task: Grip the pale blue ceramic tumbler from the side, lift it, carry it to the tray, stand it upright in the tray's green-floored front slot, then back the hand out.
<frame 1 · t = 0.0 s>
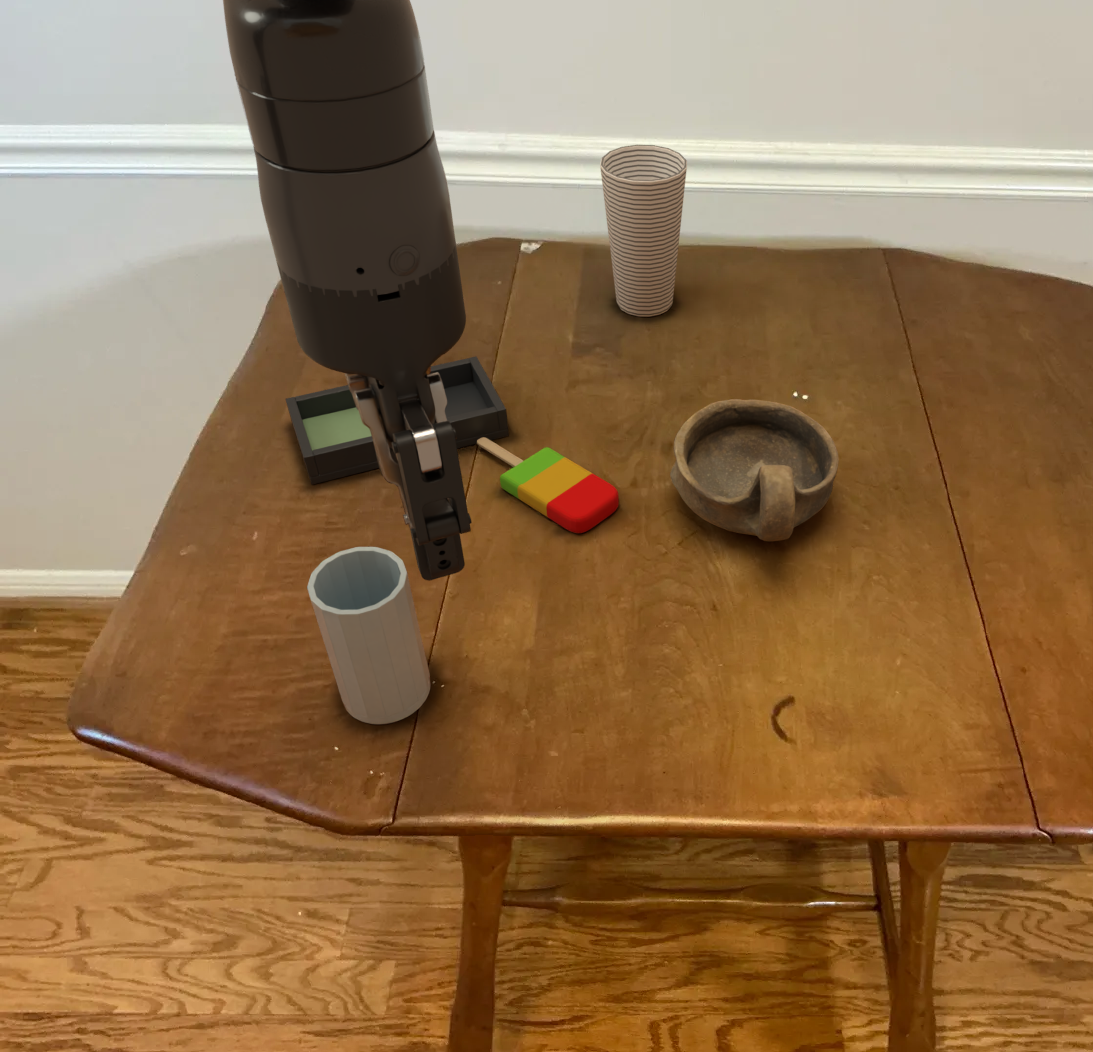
hand: (421, 520, 57), 21 cm above the table, tool pointing down, fingers open, 8 cm apart
tumbler: (386, 690, 75), on the table
bowl: (753, 517, 90), on the table
tray: (400, 430, 97), on the table
popsicle: (539, 485, 92), on the table
cup: (644, 304, 114), on the table
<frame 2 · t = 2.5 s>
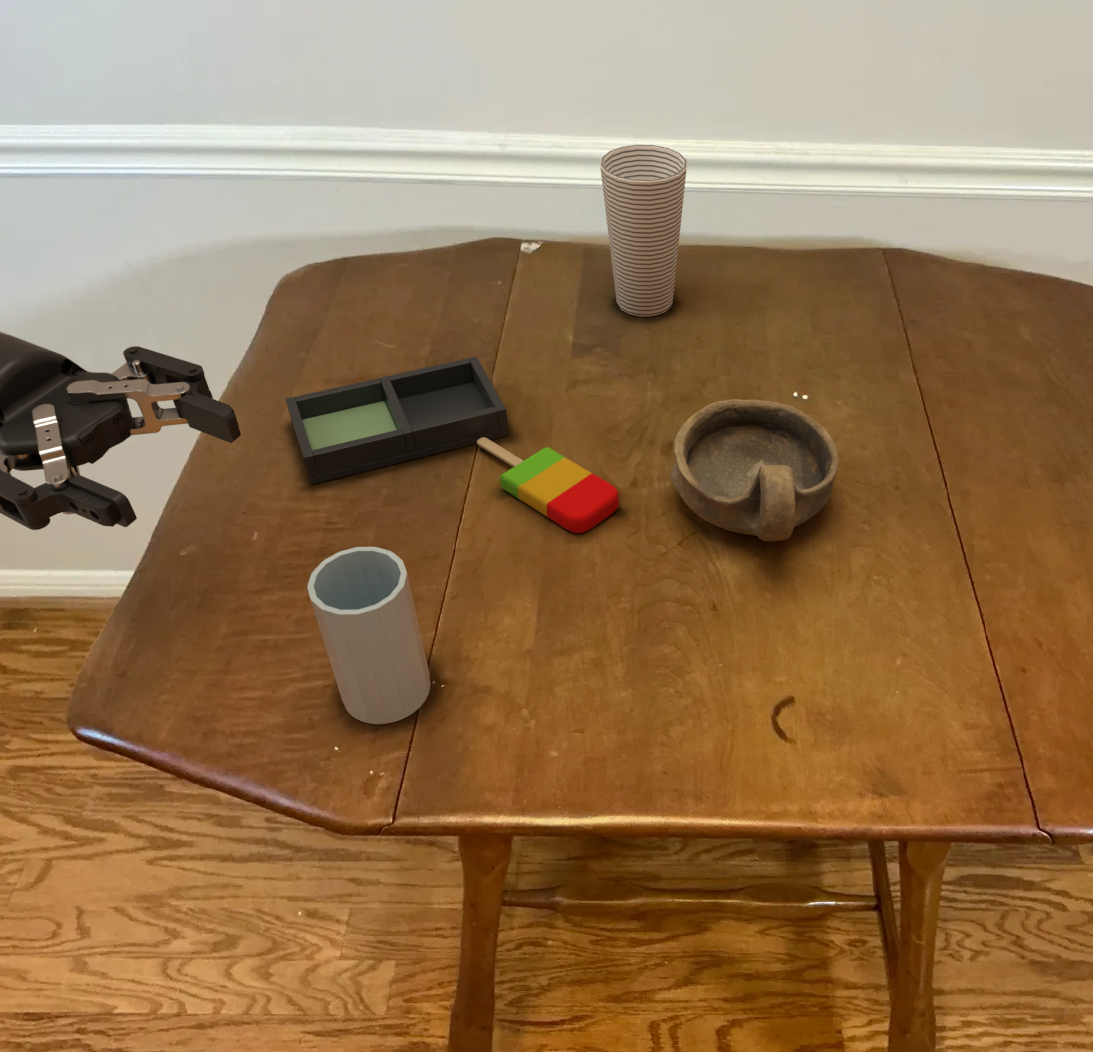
hand: (183, 468, 64), 18 cm above the table, tool horizontal, fingers open, 8 cm apart
nothing on the table moved.
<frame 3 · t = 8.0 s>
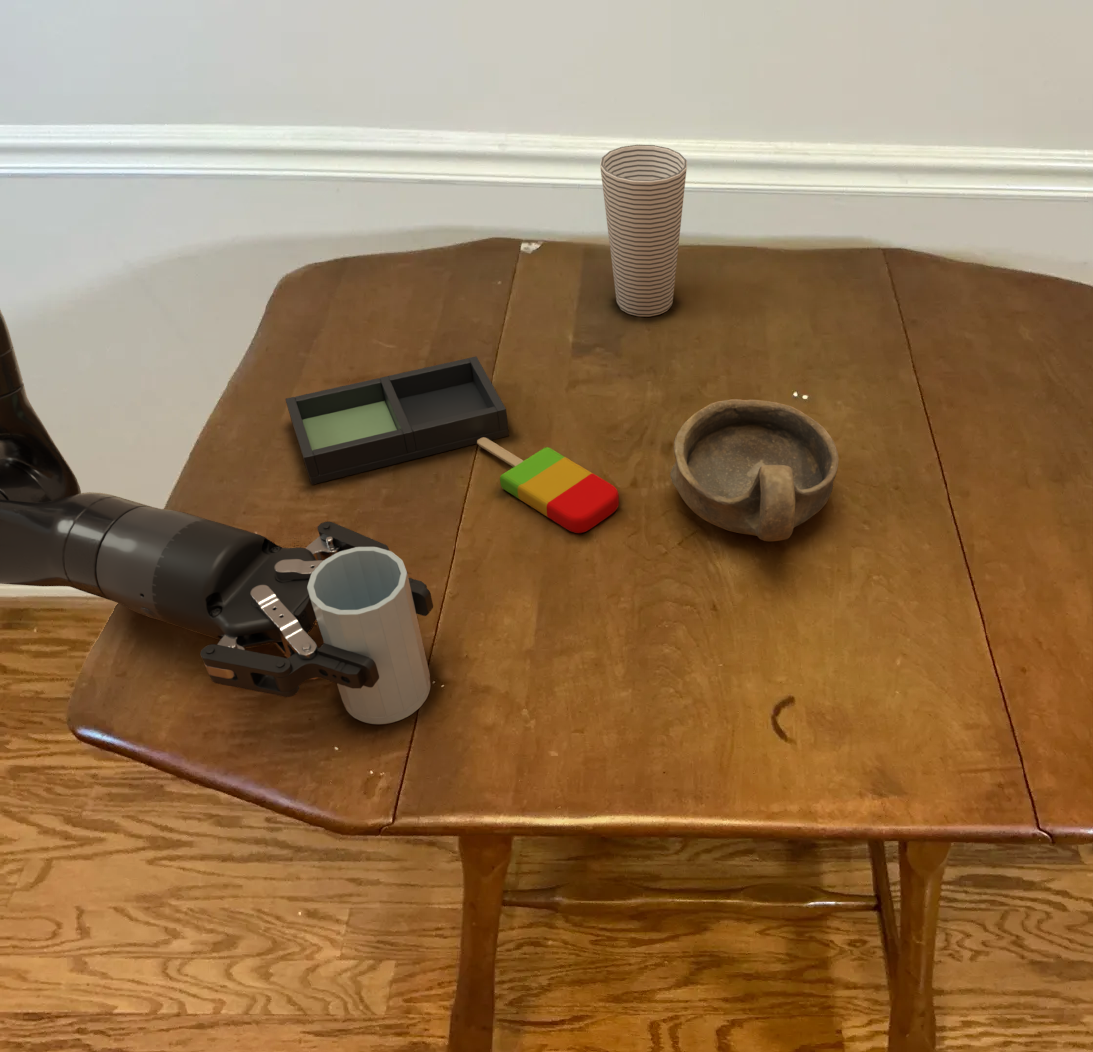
hand: (402, 636, 70), 7 cm above the table, tool horizontal, fingers closed on tumbler, 6 cm apart
tumbler: (387, 690, 75), on the table, touching gripper
everything else where it was.
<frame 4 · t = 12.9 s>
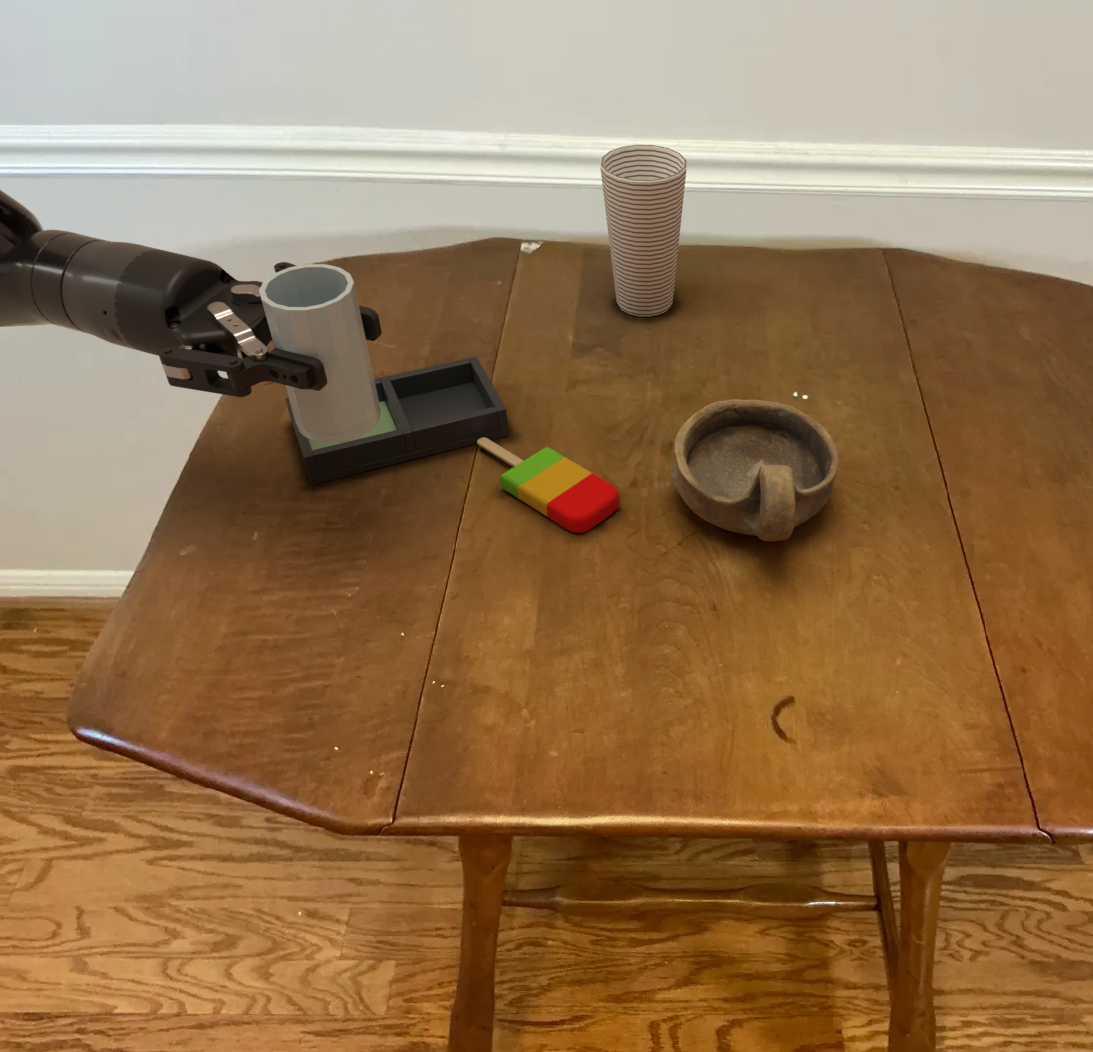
hand: (350, 350, 74), 18 cm above the table, tool horizontal, fingers closed on tumbler, 6 cm apart
tumbler: (338, 418, 79), point 11 cm above the table, touching gripper
everything else where it was.
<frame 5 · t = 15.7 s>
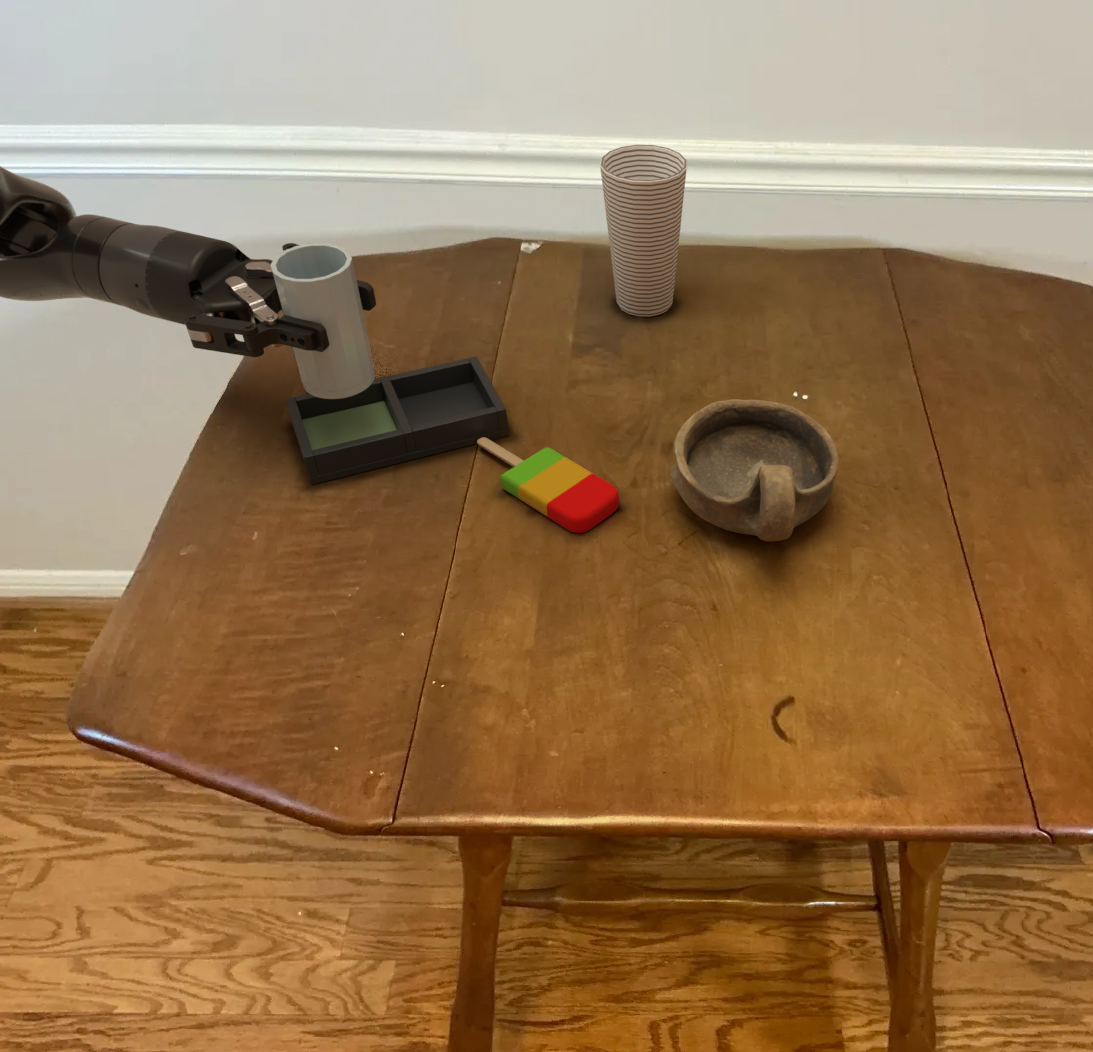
hand: (349, 317, 86), 13 cm above the table, tool horizontal, fingers closed on tumbler, 6 cm apart
tumbler: (339, 378, 91), point 7 cm above the table, touching gripper
everything else where it was.
when the fingers open (8 cm above the table, at t = 17.8 s): tumbler stays where it is, resting on tray.
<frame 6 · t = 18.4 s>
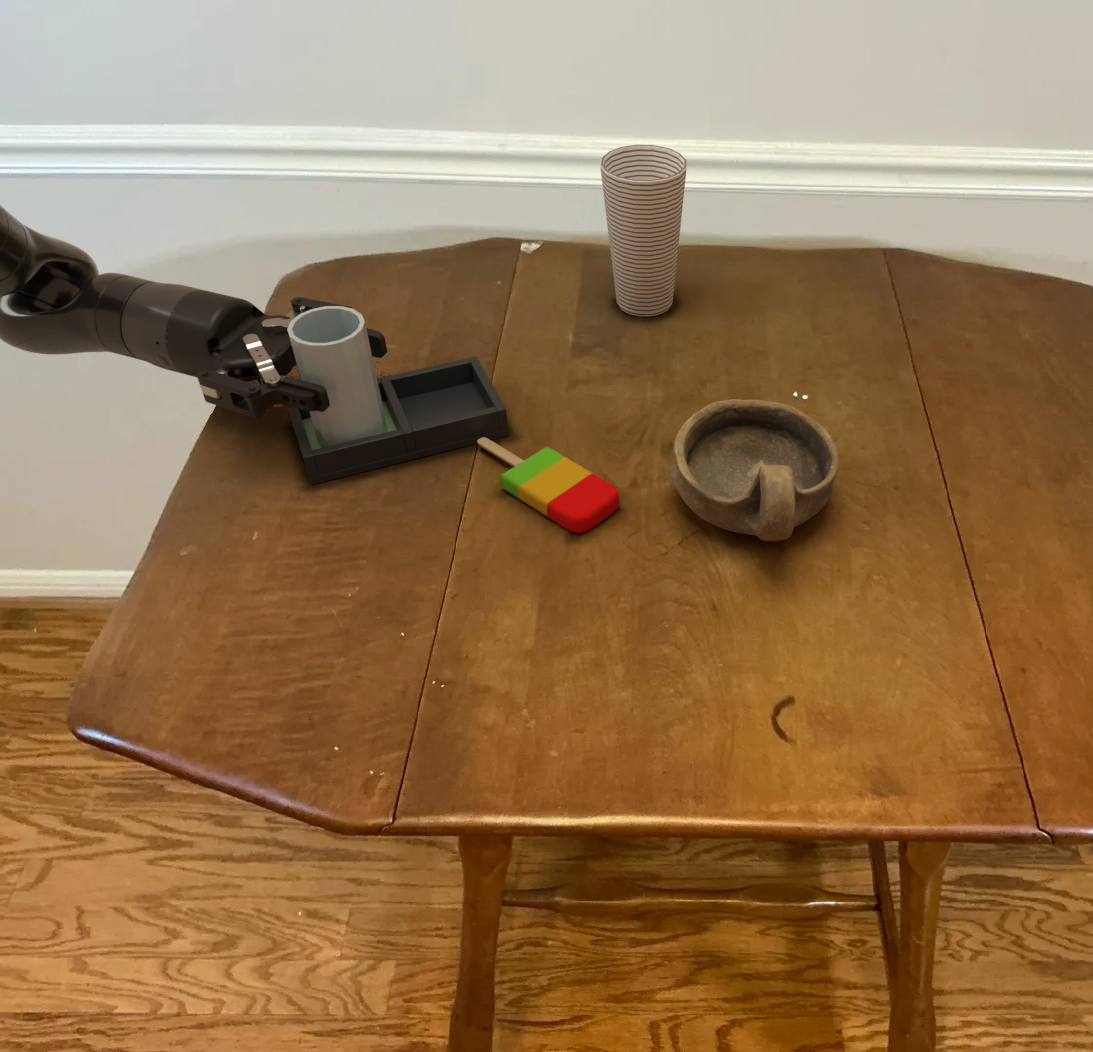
hand: (356, 372, 90), 8 cm above the table, tool horizontal, fingers open, 8 cm apart
tumbler: (351, 432, 95), point 1 cm above the table, touching tray
everything else where it was.
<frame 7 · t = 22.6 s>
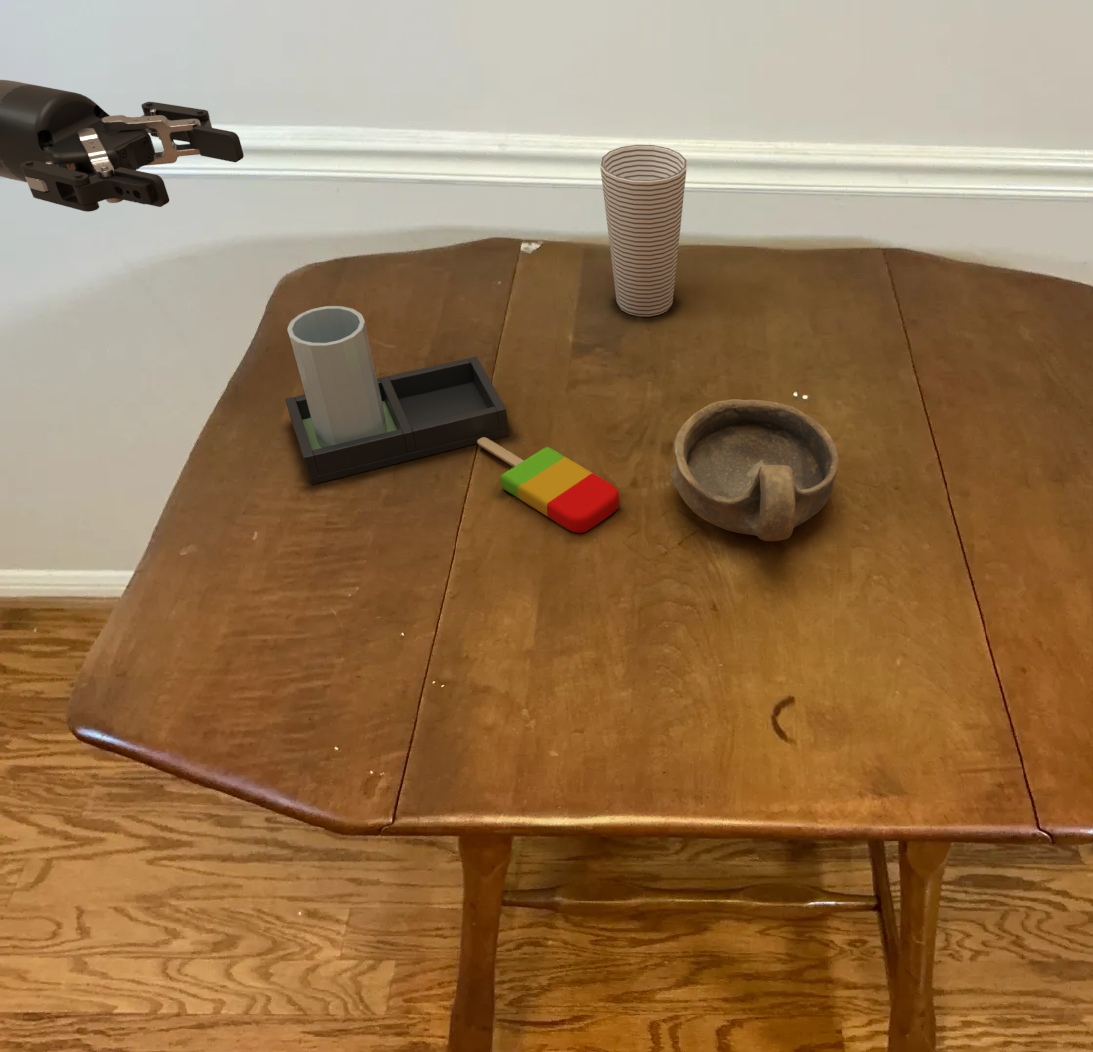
hand: (202, 169, 81), 24 cm above the table, tool horizontal, fingers open, 8 cm apart
nothing on the table moved.
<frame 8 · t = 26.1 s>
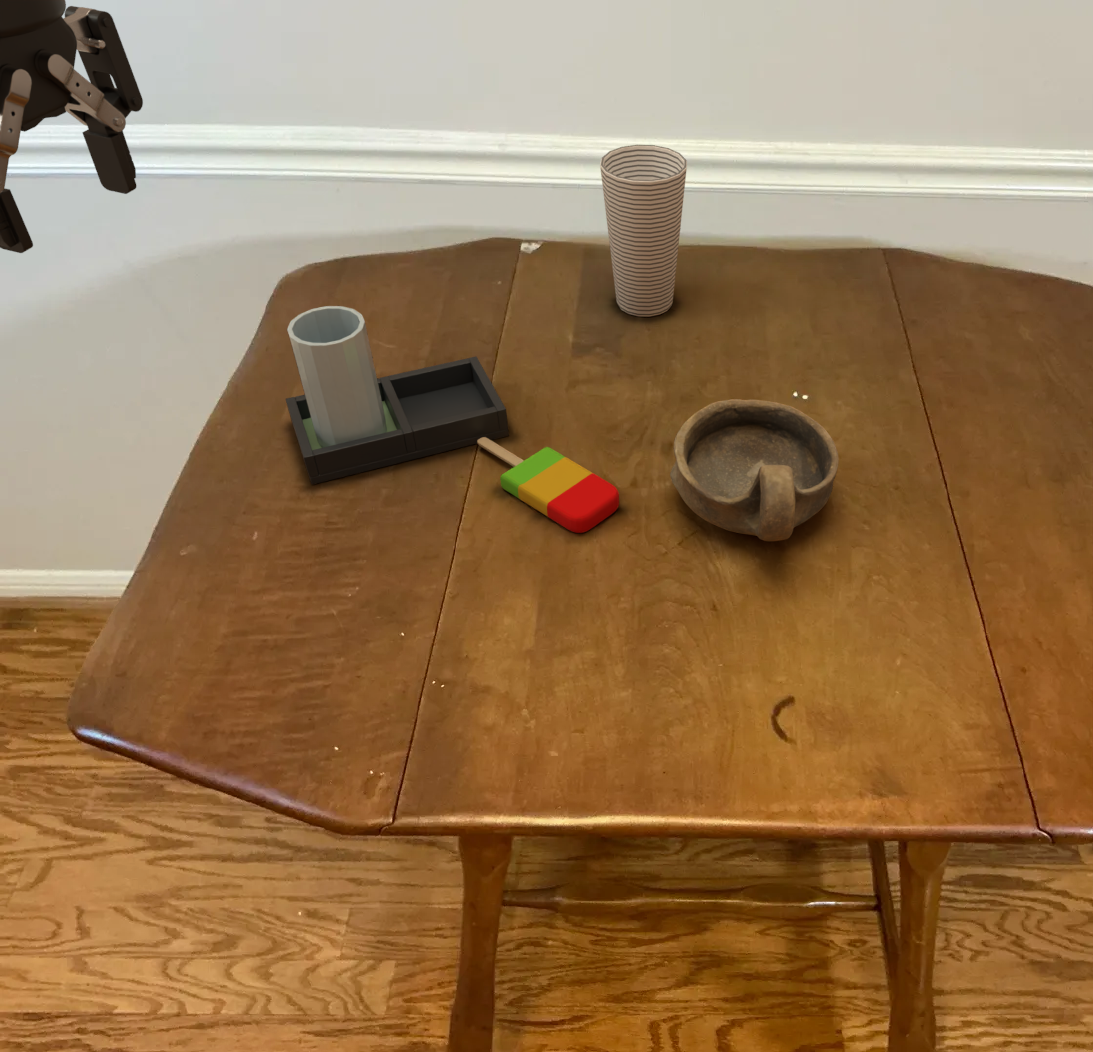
hand: (71, 217, 66), 28 cm above the table, tool pointing down, fingers open, 8 cm apart
nothing on the table moved.
at the end: tumbler inside the target area in the tray (0.1 cm from its centre), point 1.0 cm above the tray's base; tumbler tilted 0°; the gripper is holding nothing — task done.
